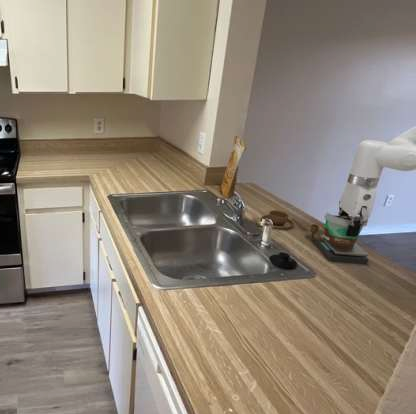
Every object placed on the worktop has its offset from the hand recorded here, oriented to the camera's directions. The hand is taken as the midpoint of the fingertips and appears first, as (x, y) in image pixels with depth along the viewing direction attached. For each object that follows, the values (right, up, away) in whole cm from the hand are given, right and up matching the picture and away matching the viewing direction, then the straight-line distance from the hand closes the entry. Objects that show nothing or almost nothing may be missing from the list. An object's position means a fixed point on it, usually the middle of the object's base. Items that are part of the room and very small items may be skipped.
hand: (345, 230), depth 111 cm
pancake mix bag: (-17, +15, +58) cm, 62 cm away
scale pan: (+1, -5, +2) cm, 6 cm away
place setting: (-10, -1, +21) cm, 23 cm away
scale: (0, -8, +4) cm, 9 cm away
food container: (0, -5, +2) cm, 5 cm away
